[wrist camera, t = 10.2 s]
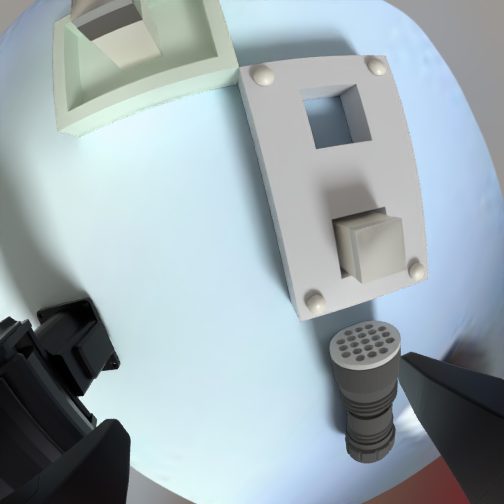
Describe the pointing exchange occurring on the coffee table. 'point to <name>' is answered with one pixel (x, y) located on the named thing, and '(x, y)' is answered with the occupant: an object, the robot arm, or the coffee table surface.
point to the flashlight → (367, 386)
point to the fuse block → (333, 172)
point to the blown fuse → (119, 29)
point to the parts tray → (141, 67)
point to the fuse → (370, 245)
